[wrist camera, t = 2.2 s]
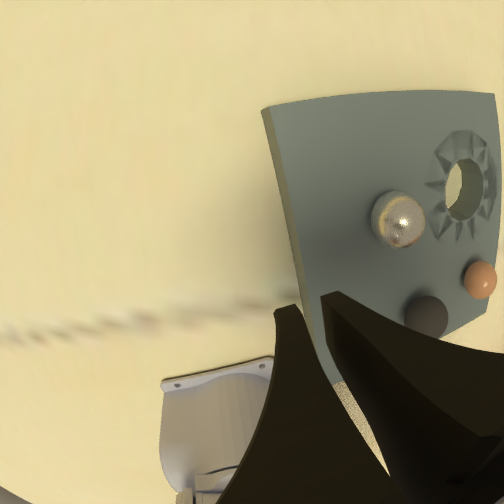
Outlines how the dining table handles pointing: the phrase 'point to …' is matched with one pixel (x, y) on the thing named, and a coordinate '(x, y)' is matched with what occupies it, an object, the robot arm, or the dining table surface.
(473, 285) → the terracotta ball
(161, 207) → the dining table surface
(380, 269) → the plate
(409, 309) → the black ball
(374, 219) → the steel ball
